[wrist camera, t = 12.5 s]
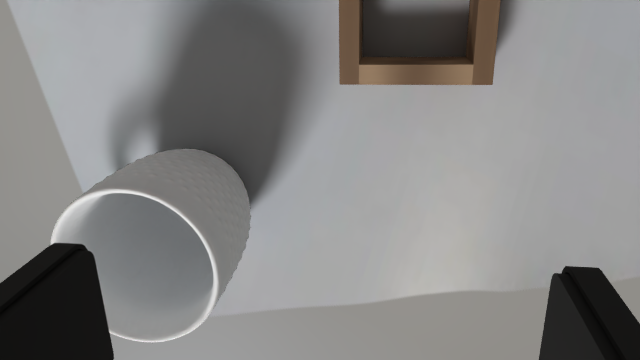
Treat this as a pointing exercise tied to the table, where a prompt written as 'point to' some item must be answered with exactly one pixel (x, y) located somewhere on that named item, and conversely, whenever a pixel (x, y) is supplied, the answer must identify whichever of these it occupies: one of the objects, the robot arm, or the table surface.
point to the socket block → (420, 69)
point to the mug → (161, 240)
